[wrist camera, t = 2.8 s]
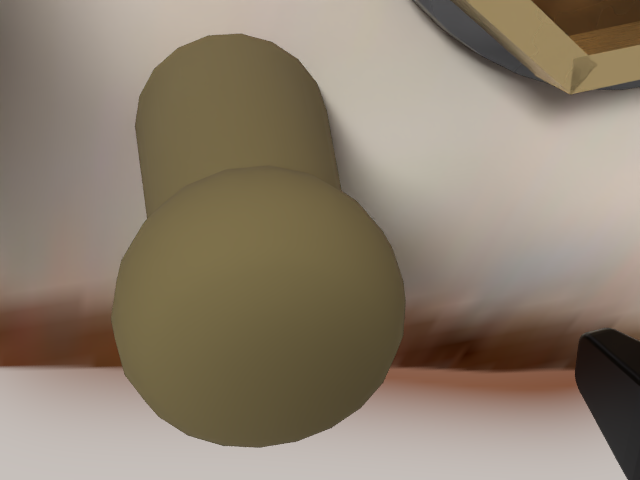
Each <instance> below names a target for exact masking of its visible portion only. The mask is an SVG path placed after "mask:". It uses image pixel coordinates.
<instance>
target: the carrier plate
mask: <svg viewBox="0 0 640 480" xmlns="http://www.w3.org/2000/svg"><path fill="white" fill-rule="evenodd" d="M413 1H414V2H415V3H416V4H417V5H418V6H419V7H420V8H421V9H422V10H423V11H424V12H425V13H426V14H427V15H428V16H429V17H430V18H431V19H432V20H433V21H434V22H435V23H436V24H437V25H438V26H439V27H440V28H442V29H443V30H444V31H446V32H447V33H449V34H450V35H451V36H453V37H454V38H456V39H457V40H458V41H460V42H461V43H463V44H464V45H465V46H467V47H468V48H469V49H471V50H472V51H474V52H476V53H478V54H479V55H481V56H483V57H485V58H487V59H489V60H491V61H493V62H495V63H497V64H499V65H501V66H503V67H505V68H507V69H509V70H511V71H513V72H515V73H517V74H519V75H522V76H526V77H529V78H532V79H535V80H538V81H542V82H545V83H548V84H551V85H553V86H555V87H557V88H559V89H561V90H563V91H564V92H566V93H568V94H571V95H572V94H575V93H579V92H584V91H589V90H623V89H630V88H637V87H640V0H413Z"/></svg>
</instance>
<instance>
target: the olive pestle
mask: <svg viewBox="0 0 640 480" xmlns="http://www.w3.org/2000/svg"><path fill="white" fill-rule="evenodd" d="M135 129H136V137H137V144H138V152H139V160H140V167H141V175H142V183H143V190H144V198H145V206H146V213H147V220H146V221H145V222H144V224H143V225H142V227H141V228H140V230H139V232H138V233H137V235H136V237H135V238H134V240H133V242H132V243H131V245H130V247H129V248H128V250H127V252H126V253H125V255H124V257H123V259H122V260H121V264H120V268H119V273H118V277H117V282H116V289H115V295H114V302H113V308H112V315H111V322H112V327H113V331H114V336H115V341H116V344H117V348H118V352H119V356H120V359H121V363H122V367H123V370H124V374H125V376H126V377H127V378H128V379H129V381H130V382H131V384H132V385H133V386H134V387H135V389H136V390H137V391H138V393H139V394H140V395H141V396H142V398H143V399H144V400H145V402H146V403H147V404H148V405H149V406H150V407H151V409H152V410H153V411H154V412H155V413H156V414H157V415H158V416H159V417H160V418H161V419H163V420H165V421H166V422H168V423H169V424H171V425H172V426H174V427H176V428H177V429H179V430H180V431H182V432H184V433H185V434H186V435H188V436H192V437H195V438H198V439H202V440H205V441H209V442H212V443H215V444H219V445H222V446H239V447H265V446H271V445H278V444H284V443H290V442H296V441H299V440H302V439H304V438H307V437H309V436H312V435H314V434H317V433H319V432H322V431H325V430H327V429H330V428H332V427H333V426H335V425H336V424H338V423H339V422H341V421H342V420H344V419H345V418H346V417H348V416H349V415H351V414H352V413H354V412H355V411H357V410H358V409H360V408H361V407H362V406H363V405H364V404H365V402H366V401H367V400H368V399H369V398H370V397H371V396H372V394H373V393H374V392H375V391H376V390H377V389H378V388H379V386H380V385H381V384H382V383H383V381H384V379H385V377H386V375H387V373H388V370H389V368H390V366H391V364H392V362H393V359H394V357H395V355H396V352H397V350H398V347H399V345H400V342H401V340H402V337H403V331H404V316H405V292H404V283H403V279H402V276H401V273H400V270H399V267H398V264H397V261H396V258H395V255H394V252H393V249H392V247H391V245H390V243H389V242H388V240H387V238H386V236H385V235H384V233H383V231H382V230H381V229H380V228H379V226H378V225H377V224H376V223H375V222H374V221H373V219H372V218H371V217H370V216H369V215H368V214H367V212H366V211H365V210H364V209H363V208H362V207H361V205H360V204H359V203H358V202H357V201H356V200H354V199H353V198H351V197H350V196H348V195H347V194H345V193H344V192H342V191H341V185H340V180H339V175H338V169H337V164H336V159H335V153H334V148H333V143H332V137H331V132H330V127H329V121H328V116H327V111H326V108H325V105H324V102H323V99H322V96H321V94H320V91H319V88H318V85H317V83H316V81H315V80H314V79H313V78H312V76H311V75H310V74H309V73H308V71H307V70H306V69H305V67H304V66H303V65H302V64H301V62H300V61H299V60H298V59H297V58H295V57H294V56H292V55H291V54H289V53H288V52H286V51H285V50H283V49H282V48H280V47H279V46H277V45H276V44H274V43H273V42H270V41H266V40H262V39H259V38H255V37H251V36H247V35H244V34H228V35H212V36H206V37H204V38H201V39H199V40H196V41H194V42H191V43H189V44H187V45H184V46H182V47H179V48H177V49H176V50H175V51H174V52H173V53H172V54H171V55H170V56H168V57H167V58H166V59H165V60H164V61H163V62H162V63H161V64H159V65H158V66H157V67H156V68H155V69H154V70H153V72H152V74H151V76H150V78H149V80H148V81H147V83H146V85H145V87H144V89H143V91H142V93H141V94H140V96H139V103H138V110H137V116H136V123H135Z"/></svg>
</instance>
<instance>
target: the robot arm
mask: <svg viewBox="0 0 640 480" xmlns="http://www.w3.org/2000/svg"><path fill="white" fill-rule="evenodd" d="M575 379H576V383H577V386H578V389H579V391H580V393H581V394H582V396H583V398H584V400H585V402H586V404H587V406H588V407H589V409H590V411H591V413H592V415H593V417H594V419H595V420H596V422H597V424H598V426H599V428H600V430H601V432H602V433H603V435H604V437H605V439H606V441H607V443H608V445H609V446H610V448H611V450H612V452H613V454H614V456H615V458H616V459H617V461H618V463H619V465H620V467H621V469H622V470H623V472H624V474H625V476H626V477H627V479H628V480H640V341H638V340H636V339H634V338H632V337H630V336H628V335H626V334H623V333H621V332H619V331H617V330H615V329H611V328H603V329H599V330H595V331H591V332H587V333H584V334H582V336H581V337H580V339H579V344H578V352H577V360H576V368H575Z"/></svg>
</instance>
